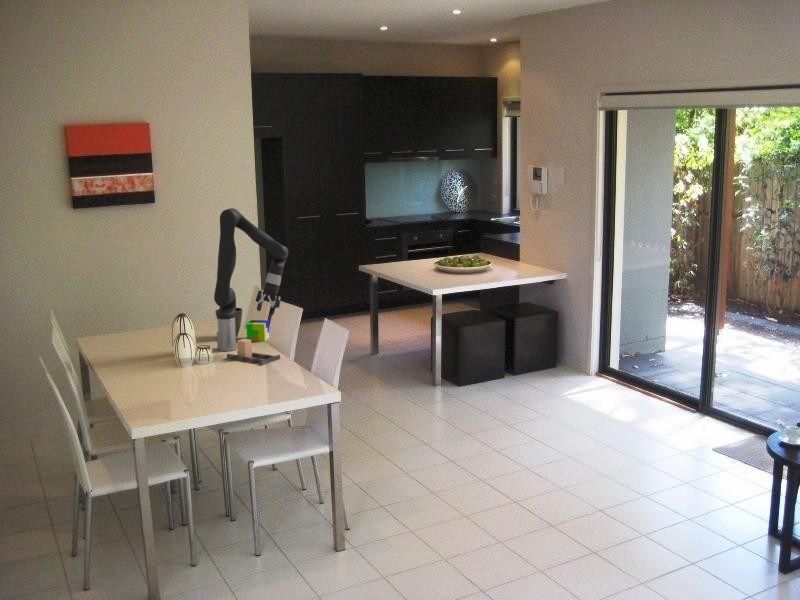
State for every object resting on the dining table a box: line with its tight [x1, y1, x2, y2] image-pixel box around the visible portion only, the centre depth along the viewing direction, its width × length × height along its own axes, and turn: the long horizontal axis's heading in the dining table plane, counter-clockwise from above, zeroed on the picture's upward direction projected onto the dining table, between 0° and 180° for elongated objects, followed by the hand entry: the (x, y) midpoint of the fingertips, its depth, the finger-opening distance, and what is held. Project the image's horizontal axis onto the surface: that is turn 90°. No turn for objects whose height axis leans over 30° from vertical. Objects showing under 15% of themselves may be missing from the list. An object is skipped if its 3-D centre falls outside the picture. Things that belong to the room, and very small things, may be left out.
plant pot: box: [214, 307, 243, 338], centre depth 472 cm, size 15×15×16 cm
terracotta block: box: [236, 338, 253, 357], centre depth 423 cm, size 5×5×9 cm
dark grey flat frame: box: [224, 350, 281, 366], centre depth 421 cm, size 25×14×4 cm, turn 60°
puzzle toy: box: [245, 319, 270, 343], centre depth 468 cm, size 10×10×10 cm
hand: (264, 312), depth 435 cm, fingers open, 8 cm apart
